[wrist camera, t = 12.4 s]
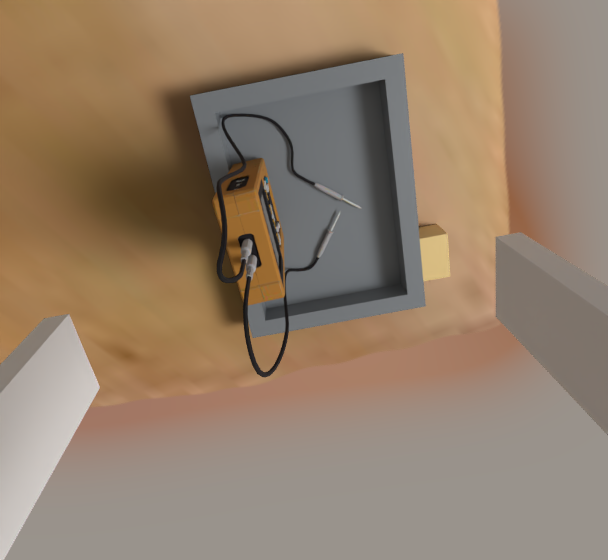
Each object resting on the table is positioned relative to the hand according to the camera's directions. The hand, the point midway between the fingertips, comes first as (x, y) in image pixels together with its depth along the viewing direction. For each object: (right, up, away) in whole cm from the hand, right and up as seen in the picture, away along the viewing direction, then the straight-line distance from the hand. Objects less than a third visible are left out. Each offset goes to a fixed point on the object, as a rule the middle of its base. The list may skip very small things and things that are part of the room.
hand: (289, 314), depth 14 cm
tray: (+3, +8, +27) cm, 28 cm away
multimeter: (0, +9, +26) cm, 27 cm away
